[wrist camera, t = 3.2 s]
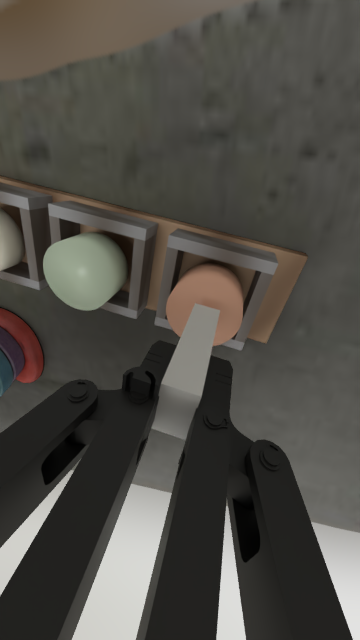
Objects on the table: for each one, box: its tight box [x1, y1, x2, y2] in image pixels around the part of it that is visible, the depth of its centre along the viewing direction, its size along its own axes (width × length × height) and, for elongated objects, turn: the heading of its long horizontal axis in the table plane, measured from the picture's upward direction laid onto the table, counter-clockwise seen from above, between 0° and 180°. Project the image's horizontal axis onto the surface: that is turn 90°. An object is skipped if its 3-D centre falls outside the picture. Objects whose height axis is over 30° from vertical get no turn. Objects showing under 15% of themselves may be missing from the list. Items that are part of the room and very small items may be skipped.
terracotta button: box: [166, 263, 243, 346], centre depth 17 cm, size 5×5×3 cm
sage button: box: [43, 232, 128, 310], centre depth 18 cm, size 5×5×3 cm
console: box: [0, 176, 308, 351], centre depth 20 cm, size 30×8×4 cm, turn 79°
